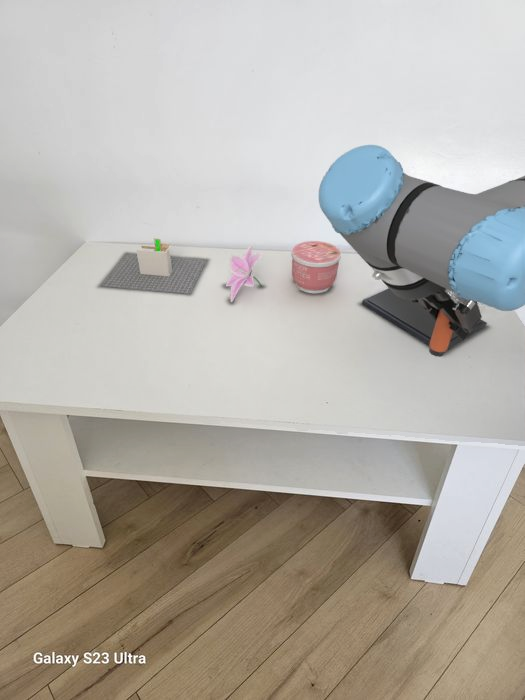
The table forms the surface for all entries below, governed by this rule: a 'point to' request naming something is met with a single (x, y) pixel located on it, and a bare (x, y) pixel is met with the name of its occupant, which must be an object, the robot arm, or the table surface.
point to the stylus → (440, 335)
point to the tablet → (410, 316)
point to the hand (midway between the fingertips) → (457, 326)
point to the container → (315, 265)
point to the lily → (242, 271)
